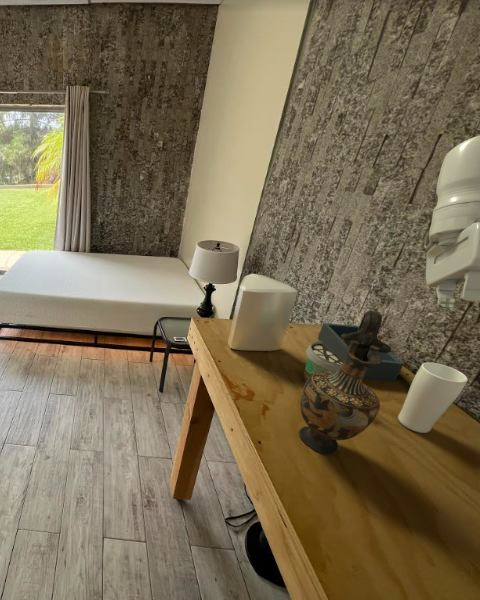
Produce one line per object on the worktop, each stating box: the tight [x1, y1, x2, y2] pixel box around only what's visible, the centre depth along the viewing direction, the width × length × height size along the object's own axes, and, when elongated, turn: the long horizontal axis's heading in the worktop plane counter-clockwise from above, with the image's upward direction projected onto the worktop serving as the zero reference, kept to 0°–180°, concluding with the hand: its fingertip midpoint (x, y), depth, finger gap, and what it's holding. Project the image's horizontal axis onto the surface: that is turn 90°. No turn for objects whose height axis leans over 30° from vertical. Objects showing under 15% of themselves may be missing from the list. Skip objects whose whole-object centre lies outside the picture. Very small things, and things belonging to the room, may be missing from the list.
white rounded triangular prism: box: [227, 273, 299, 352], centre depth 100 cm, size 15×14×22 cm
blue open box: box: [317, 322, 404, 383], centre depth 93 cm, size 10×20×6 cm, turn 167°
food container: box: [302, 340, 343, 384], centre depth 83 cm, size 12×6×10 cm, turn 178°
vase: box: [298, 310, 392, 456], centre depth 62 cm, size 12×12×30 cm
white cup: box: [397, 361, 469, 434], centre depth 69 cm, size 7×7×15 cm
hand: (456, 304), depth 55 cm, fingers open, 8 cm apart
